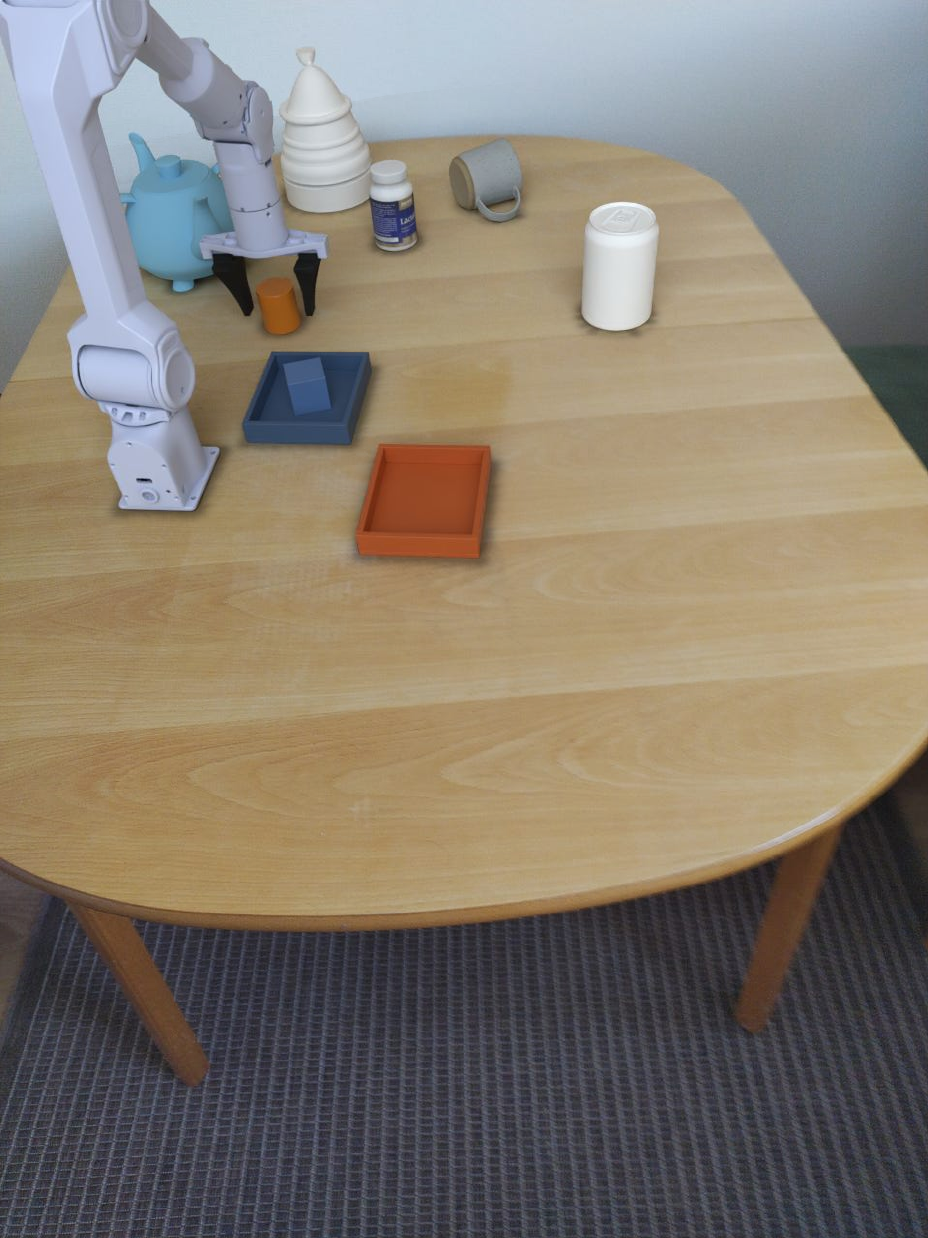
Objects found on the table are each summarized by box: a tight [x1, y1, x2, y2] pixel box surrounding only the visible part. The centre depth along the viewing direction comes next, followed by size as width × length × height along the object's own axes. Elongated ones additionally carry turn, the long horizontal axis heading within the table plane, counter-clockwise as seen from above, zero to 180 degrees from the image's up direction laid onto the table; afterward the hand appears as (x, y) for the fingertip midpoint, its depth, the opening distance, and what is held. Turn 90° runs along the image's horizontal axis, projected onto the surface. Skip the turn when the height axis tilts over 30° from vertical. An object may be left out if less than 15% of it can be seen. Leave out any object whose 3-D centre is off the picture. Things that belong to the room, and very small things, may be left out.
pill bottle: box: [369, 159, 418, 252], centre depth 123 cm, size 6×6×10 cm
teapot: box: [119, 132, 235, 293], centre depth 120 cm, size 16×20×14 cm
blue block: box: [283, 357, 331, 416], centre depth 102 cm, size 4×4×4 cm
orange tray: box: [355, 443, 492, 559], centre depth 90 cm, size 13×11×2 cm
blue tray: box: [241, 350, 372, 446], centre depth 103 cm, size 13×11×2 cm
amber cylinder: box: [255, 277, 302, 335], centre depth 113 cm, size 4×4×5 cm
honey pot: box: [278, 46, 373, 213], centre depth 131 cm, size 13×13×18 cm
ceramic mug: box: [448, 137, 524, 223], centre depth 128 cm, size 11×8×8 cm
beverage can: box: [581, 201, 660, 332], centre depth 107 cm, size 8×8×12 cm
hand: (280, 311), depth 113 cm, fingers open, 7 cm apart
